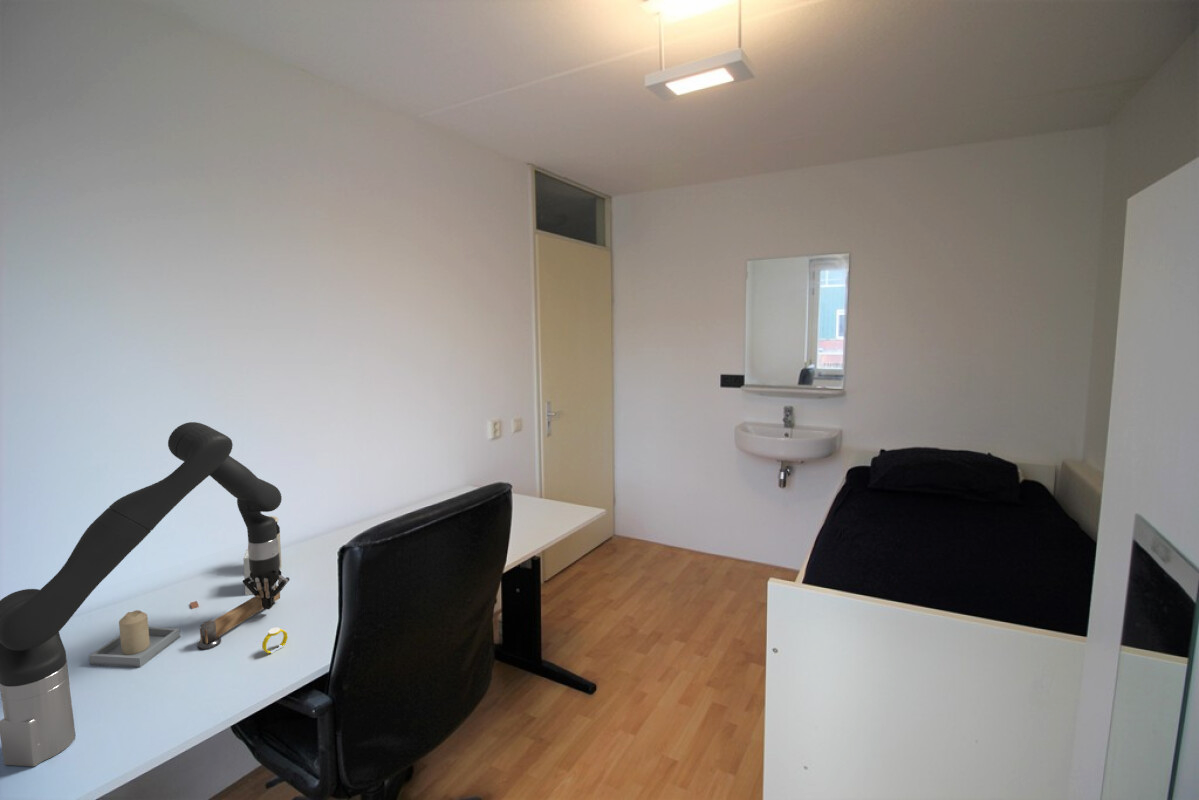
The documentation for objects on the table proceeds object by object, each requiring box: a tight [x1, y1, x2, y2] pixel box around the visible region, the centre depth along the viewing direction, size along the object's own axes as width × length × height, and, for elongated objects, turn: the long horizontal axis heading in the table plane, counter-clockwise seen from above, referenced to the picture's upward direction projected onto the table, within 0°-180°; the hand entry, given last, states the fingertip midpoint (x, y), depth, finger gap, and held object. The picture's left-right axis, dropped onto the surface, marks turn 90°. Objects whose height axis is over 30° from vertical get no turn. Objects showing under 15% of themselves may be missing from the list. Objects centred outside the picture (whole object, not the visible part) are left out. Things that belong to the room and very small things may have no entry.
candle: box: [118, 609, 150, 655], centre depth 138 cm, size 6×6×10 cm
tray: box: [88, 626, 181, 668], centre depth 139 cm, size 13×13×2 cm
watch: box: [261, 626, 288, 654], centre depth 141 cm, size 6×3×6 cm, turn 152°
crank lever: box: [199, 584, 281, 644], centre depth 152 cm, size 24×3×6 cm, turn 167°
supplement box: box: [243, 548, 257, 596], centre depth 170 cm, size 7×7×13 cm
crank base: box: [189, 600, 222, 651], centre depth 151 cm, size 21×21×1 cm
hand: (268, 607), depth 157 cm, fingers closed
